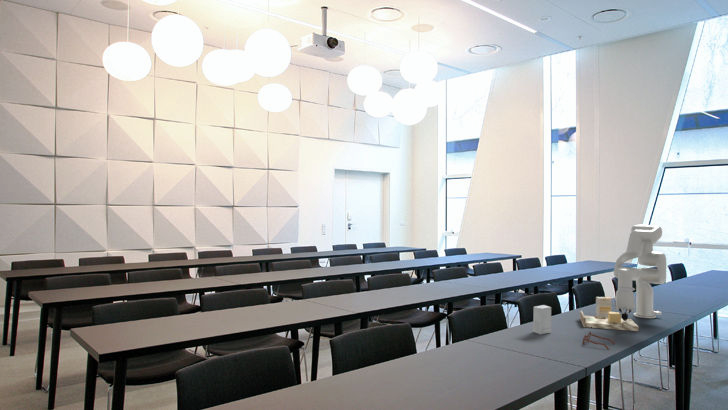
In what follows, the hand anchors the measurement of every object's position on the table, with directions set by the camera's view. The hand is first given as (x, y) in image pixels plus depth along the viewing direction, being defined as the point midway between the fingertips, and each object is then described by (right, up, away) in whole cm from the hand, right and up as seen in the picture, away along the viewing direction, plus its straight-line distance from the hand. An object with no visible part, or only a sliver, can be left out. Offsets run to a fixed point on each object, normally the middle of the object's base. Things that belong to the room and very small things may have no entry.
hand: (624, 320), depth 290 cm
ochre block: (-5, -1, +2) cm, 6 cm away
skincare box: (-55, -4, -16) cm, 57 cm away
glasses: (-34, -4, -38) cm, 51 cm away
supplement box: (-2, -4, +22) cm, 22 cm away
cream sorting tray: (-8, -4, +3) cm, 9 cm away
